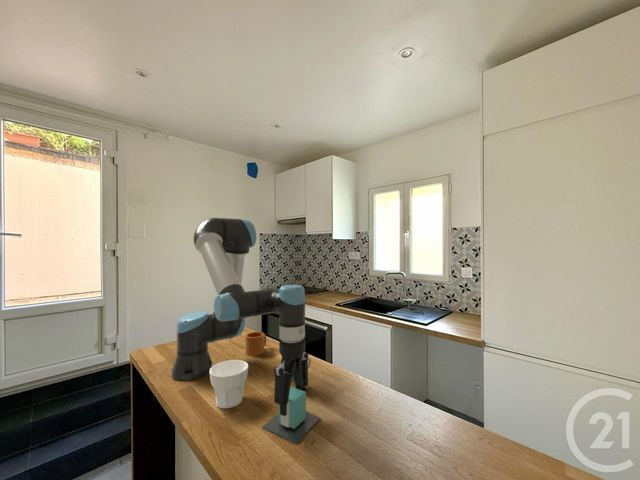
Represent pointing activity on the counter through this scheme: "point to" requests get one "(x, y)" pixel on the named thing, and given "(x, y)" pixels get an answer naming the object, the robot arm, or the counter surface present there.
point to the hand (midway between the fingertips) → (292, 418)
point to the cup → (229, 382)
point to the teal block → (296, 407)
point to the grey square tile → (291, 433)
